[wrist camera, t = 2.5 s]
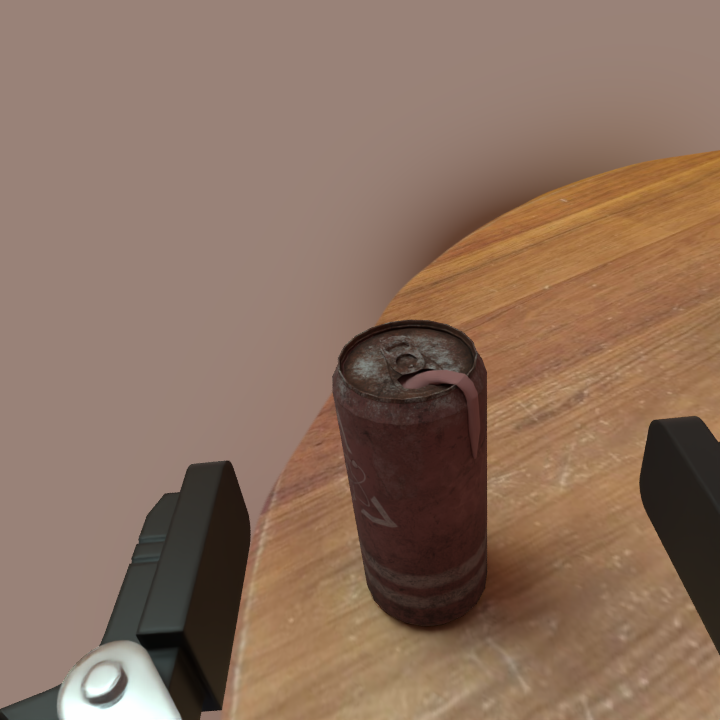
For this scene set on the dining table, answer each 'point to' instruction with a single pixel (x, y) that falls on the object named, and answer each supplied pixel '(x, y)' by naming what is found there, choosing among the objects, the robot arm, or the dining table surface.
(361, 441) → the can
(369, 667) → the dining table surface
